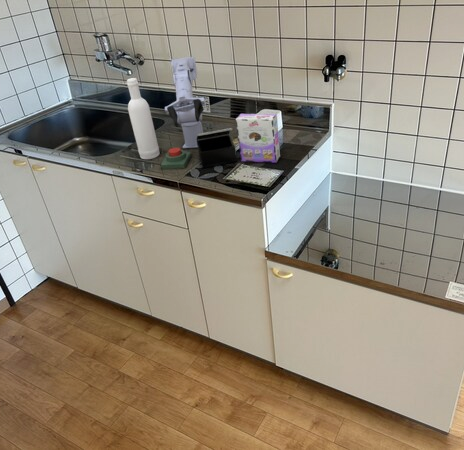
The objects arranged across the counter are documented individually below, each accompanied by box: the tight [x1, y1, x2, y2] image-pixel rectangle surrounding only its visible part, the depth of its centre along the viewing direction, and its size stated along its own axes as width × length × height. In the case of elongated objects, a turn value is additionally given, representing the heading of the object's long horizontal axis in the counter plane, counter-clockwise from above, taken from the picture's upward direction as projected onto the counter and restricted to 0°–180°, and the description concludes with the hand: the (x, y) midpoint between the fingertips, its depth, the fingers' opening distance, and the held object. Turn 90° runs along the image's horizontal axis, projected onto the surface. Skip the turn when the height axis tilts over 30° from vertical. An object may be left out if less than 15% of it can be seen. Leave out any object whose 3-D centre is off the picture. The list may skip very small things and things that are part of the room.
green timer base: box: [160, 148, 192, 170], centre depth 176 cm, size 11×9×4 cm
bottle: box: [126, 77, 161, 160], centre depth 177 cm, size 8×8×30 cm
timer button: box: [168, 147, 182, 157], centre depth 175 cm, size 4×4×2 cm
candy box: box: [235, 113, 281, 164], centre depth 167 cm, size 14×6×16 cm, turn 71°
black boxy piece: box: [196, 134, 238, 170], centre depth 174 cm, size 12×13×6 cm
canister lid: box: [196, 127, 233, 140], centre depth 171 cm, size 13×13×1 cm
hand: (186, 122), depth 163 cm, fingers open, 7 cm apart
